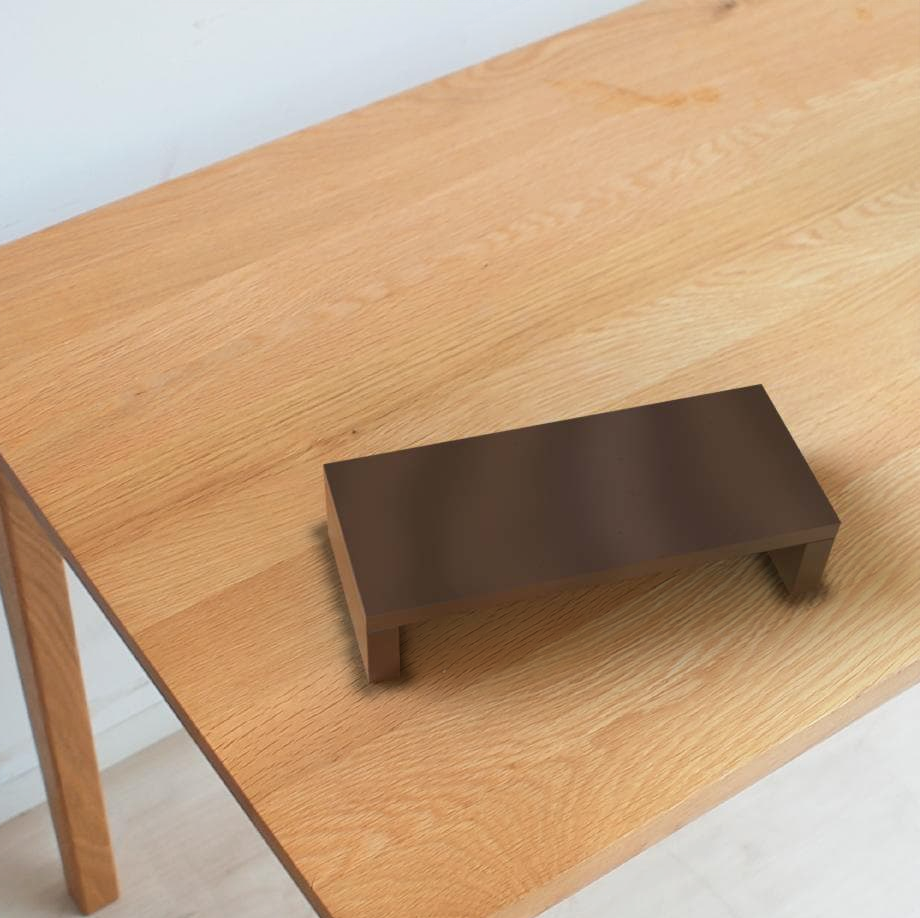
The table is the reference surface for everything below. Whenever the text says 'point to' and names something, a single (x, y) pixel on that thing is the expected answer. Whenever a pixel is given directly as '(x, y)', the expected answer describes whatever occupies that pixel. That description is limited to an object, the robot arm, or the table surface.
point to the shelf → (570, 511)
